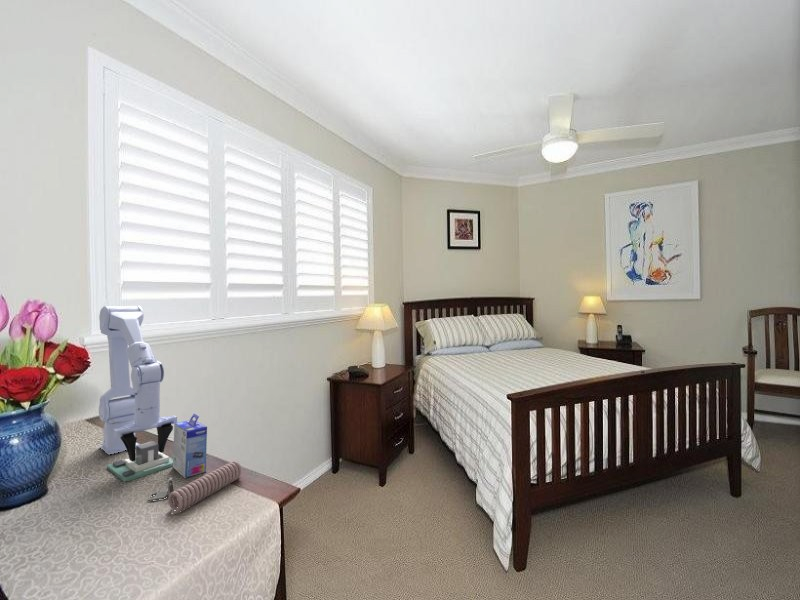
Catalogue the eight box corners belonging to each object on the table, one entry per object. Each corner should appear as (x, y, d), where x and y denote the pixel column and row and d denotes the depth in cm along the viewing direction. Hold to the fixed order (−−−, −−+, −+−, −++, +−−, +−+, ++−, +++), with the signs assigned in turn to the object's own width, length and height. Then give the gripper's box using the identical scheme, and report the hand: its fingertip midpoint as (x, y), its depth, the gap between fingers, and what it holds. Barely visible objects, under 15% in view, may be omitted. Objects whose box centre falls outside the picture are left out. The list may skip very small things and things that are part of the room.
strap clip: (146, 504, 81) (146, 485, 81) (150, 497, 84) (150, 479, 84) (189, 496, 85) (189, 478, 85) (191, 490, 87) (191, 473, 87)
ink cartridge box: (207, 471, 96) (208, 417, 96) (185, 479, 92) (185, 423, 92) (193, 460, 103) (194, 410, 103) (172, 467, 99) (172, 414, 99)
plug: (135, 463, 99) (136, 445, 99) (152, 458, 102) (152, 440, 102) (142, 468, 96) (142, 449, 96) (159, 462, 100) (159, 444, 100)
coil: (179, 497, 76) (245, 462, 93) (164, 490, 78) (231, 457, 95) (178, 518, 76) (243, 479, 93) (163, 511, 78) (230, 474, 95)
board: (106, 468, 98) (107, 460, 98) (156, 453, 108) (156, 446, 108) (124, 482, 90) (124, 474, 90) (176, 464, 100) (176, 457, 100)
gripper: (120, 416, 91) (120, 469, 91) (182, 403, 103) (181, 450, 103) (111, 411, 96) (110, 462, 95) (171, 399, 107) (170, 444, 107)
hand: (146, 455), depth 100 cm, fingers open, 6 cm apart
